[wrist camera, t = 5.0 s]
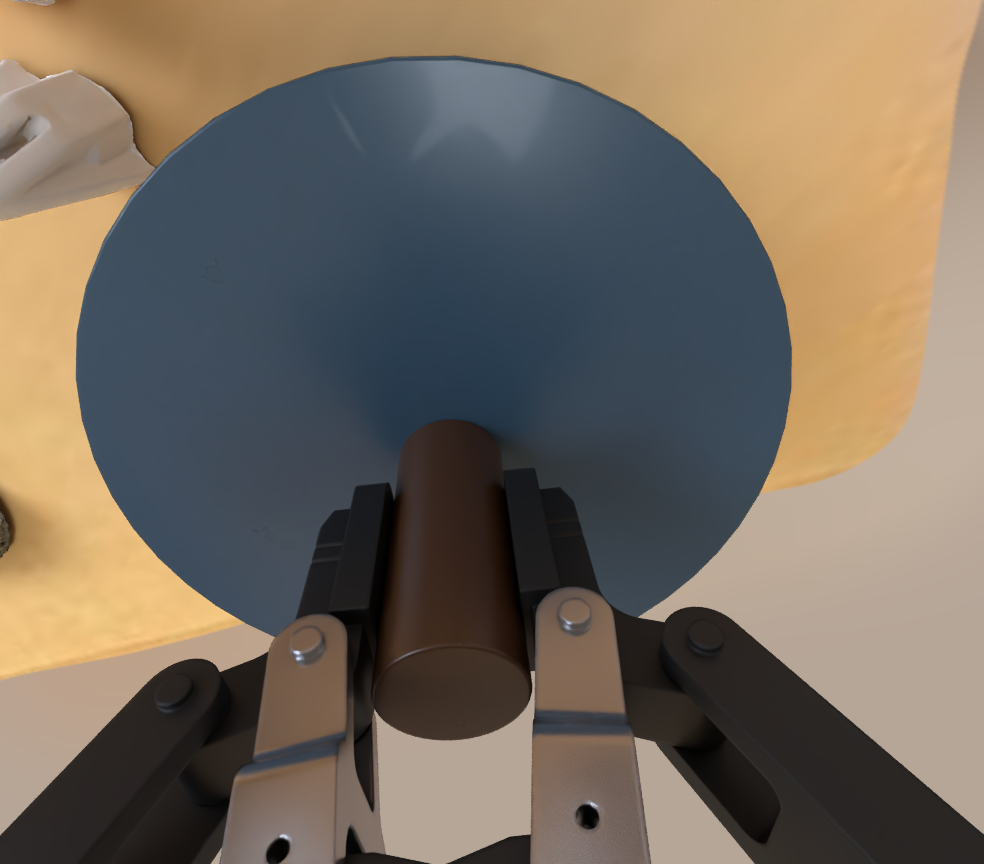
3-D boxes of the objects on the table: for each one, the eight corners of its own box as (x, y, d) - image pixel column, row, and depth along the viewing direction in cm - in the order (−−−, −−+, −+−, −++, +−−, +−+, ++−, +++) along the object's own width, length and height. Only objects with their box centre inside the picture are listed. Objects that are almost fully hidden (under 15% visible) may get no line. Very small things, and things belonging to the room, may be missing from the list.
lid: (236, 665, 20) (136, 945, 14) (-62, 100, 11) (-820, 154, 4) (721, 613, 20) (847, 866, 14) (845, 14, 11) (1413, -58, 5)
